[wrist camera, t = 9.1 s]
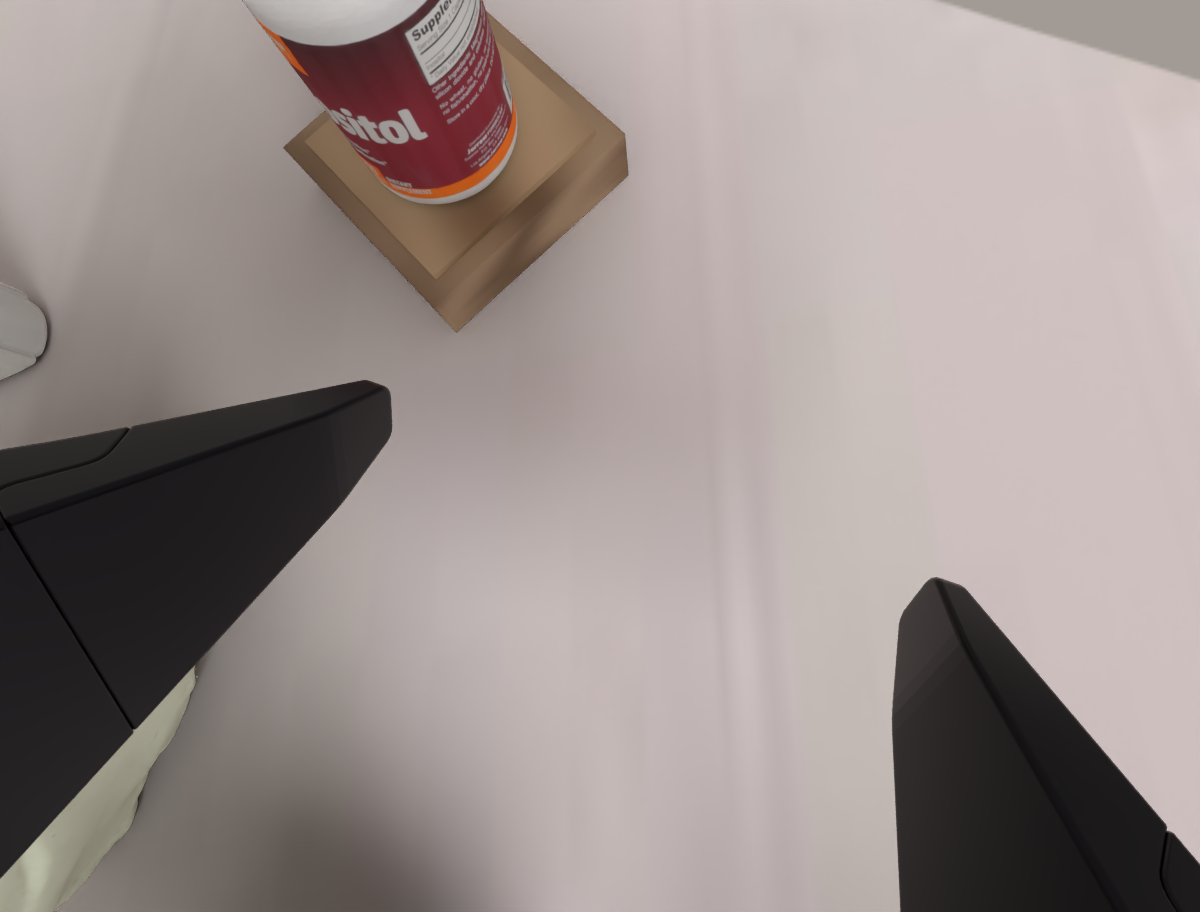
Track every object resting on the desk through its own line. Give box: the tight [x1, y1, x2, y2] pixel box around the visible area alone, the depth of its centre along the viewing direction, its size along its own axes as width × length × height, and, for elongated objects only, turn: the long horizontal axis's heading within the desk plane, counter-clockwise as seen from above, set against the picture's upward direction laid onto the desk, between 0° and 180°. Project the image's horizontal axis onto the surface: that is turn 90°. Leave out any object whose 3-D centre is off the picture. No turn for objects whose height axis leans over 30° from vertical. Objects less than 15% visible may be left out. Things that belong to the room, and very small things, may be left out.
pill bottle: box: [242, 0, 517, 204], centre depth 17 cm, size 6×6×11 cm
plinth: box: [283, 11, 628, 332], centre depth 24 cm, size 10×10×3 cm
